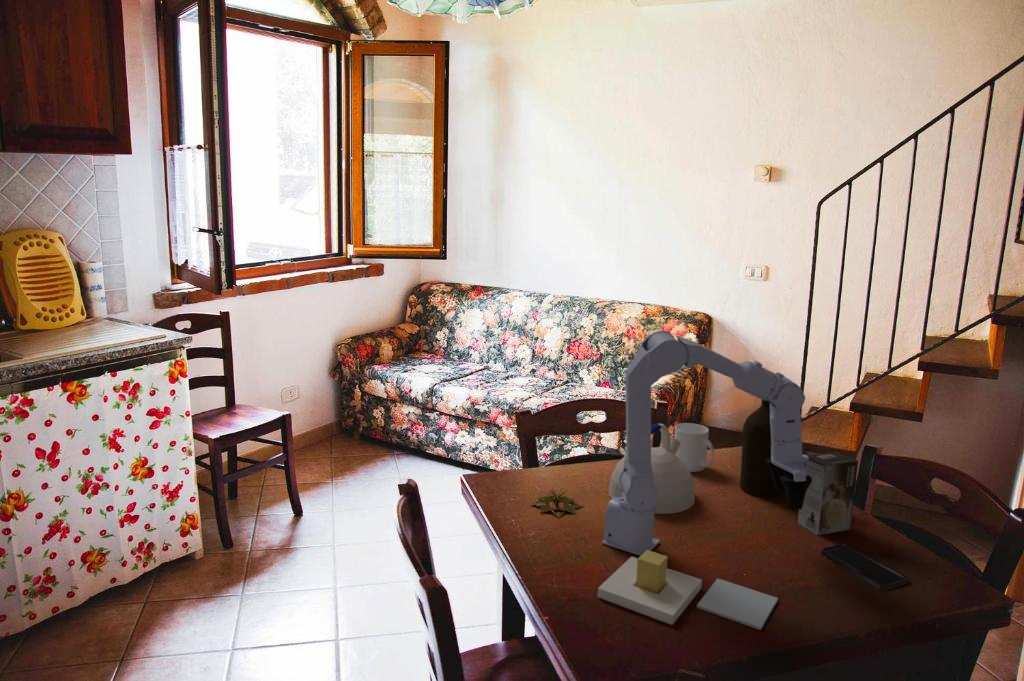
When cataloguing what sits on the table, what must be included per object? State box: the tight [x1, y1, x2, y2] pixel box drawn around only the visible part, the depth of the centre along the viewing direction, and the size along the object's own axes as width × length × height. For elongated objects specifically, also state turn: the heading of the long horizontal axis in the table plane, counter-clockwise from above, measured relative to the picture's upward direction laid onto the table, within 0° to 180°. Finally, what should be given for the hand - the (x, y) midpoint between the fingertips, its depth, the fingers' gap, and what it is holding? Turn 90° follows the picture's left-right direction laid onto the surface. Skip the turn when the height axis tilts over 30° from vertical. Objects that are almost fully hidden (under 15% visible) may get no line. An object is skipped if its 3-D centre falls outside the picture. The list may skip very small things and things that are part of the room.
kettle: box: [608, 423, 696, 515], centre depth 169 cm, size 20×21×18 cm
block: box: [636, 550, 669, 594], centre depth 129 cm, size 4×4×7 cm
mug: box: [673, 422, 715, 473], centre depth 188 cm, size 9×12×11 cm
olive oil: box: [739, 399, 780, 498], centre depth 174 cm, size 11×11×25 cm
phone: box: [820, 543, 909, 591], centre depth 141 cm, size 8×1×15 cm
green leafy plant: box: [532, 488, 585, 519], centre depth 163 cm, size 12×12×5 cm
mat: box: [696, 577, 779, 631], centre depth 127 cm, size 11×11×1 cm
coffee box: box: [797, 451, 859, 536], centre depth 156 cm, size 9×6×16 cm
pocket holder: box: [597, 556, 703, 626], centre depth 129 cm, size 14×14×2 cm
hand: (789, 500), depth 145 cm, fingers open, 7 cm apart
